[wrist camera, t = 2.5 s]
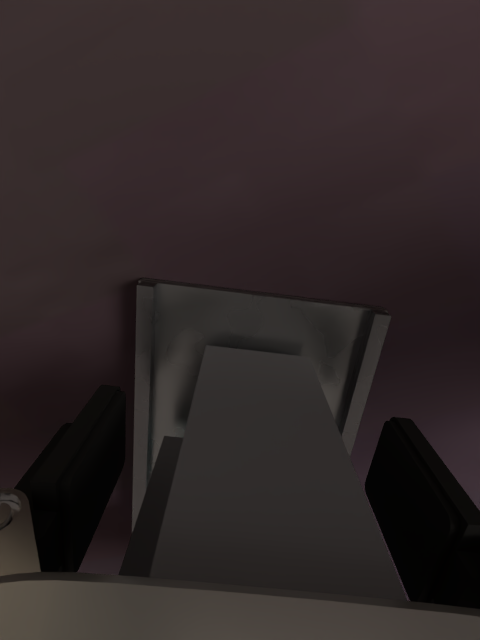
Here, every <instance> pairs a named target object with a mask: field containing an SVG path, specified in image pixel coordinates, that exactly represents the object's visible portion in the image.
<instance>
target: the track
mask: <svg viewBox="0 0 480 640" xmlns="http://www.w3.org/2000/svg"><path fill="white" fill-rule="evenodd" d="M387 312H388V311H387V310H386V309H384V308H383V307H377V306H369V305H361V304H353V303H345V302H336V301H328V300H320V299H312V298H304V297H296V296H288V295H279V294H271V293H263V292H255V291H247V290H239V289H230V288H222V287H214V286H206V285H198V284H190V283H181V282H173V281H165V280H157V279H149V278H141V279H140V280H139V284H138V285H137V299H136V349H135V399H134V449H133V499H132V533H133V530H134V527H135V523H136V520H137V517H138V514H139V511H140V508H141V505H142V502H143V499H144V496H145V493H146V490H147V487H148V484H149V481H150V478H151V475H152V471H153V468H154V465H155V462H156V459H157V456H158V453H159V450H160V447H161V444H162V441H163V438H164V436H172V437H181V438H183V437H184V433H185V429H186V425H187V421H188V417H189V412H190V408H191V404H192V400H193V396H194V392H195V388H196V384H197V380H198V376H199V372H200V368H201V364H202V360H203V356H204V352H205V347H206V345H209V346H218V347H226V348H235V349H244V350H252V351H261V352H269V353H278V354H286V355H295V356H303V357H310V360H311V362H312V364H313V367H314V369H315V372H316V374H317V377H318V379H319V382H320V384H321V387H322V389H323V392H324V394H325V397H326V399H327V402H328V404H329V407H330V409H331V412H332V414H333V417H334V419H335V422H336V424H337V427H338V429H339V432H340V434H341V437H342V439H343V442H344V444H345V447H346V449H347V452H348V454H349V457H350V455H351V452H352V448H353V445H354V442H355V438H356V435H357V431H358V428H359V425H360V421H361V418H362V414H363V411H364V408H365V404H366V401H367V397H368V394H369V391H370V387H371V384H372V380H373V377H374V374H375V370H376V367H377V363H378V360H379V357H380V353H381V350H382V346H383V343H384V340H385V336H386V333H387V330H388V326H389V323H390V319H391V315H389V314H388V313H387Z"/></svg>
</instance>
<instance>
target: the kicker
mask: <svg viewBox="0 0 480 640" xmlns="http://www.w3.org/2000/svg"><path fill="white" fill-rule="evenodd" d="M119 575H122V576H136V577H148V578H160V579H172V580H183V581H195V582H207V583H219V584H230V585H241V586H253V587H264V588H275V589H286V590H297V591H308V592H318V593H329V594H340V595H350V596H361V597H371V598H381V599H391V600H402V601H407V599H406V597H405V594H404V592H403V589H402V587H401V584H400V582H399V579H398V577H397V574H396V572H395V569H394V567H393V564H392V562H391V559H390V557H389V554H388V552H387V549H386V547H385V544H384V542H383V539H382V537H381V534H380V532H379V529H378V527H377V524H376V522H375V519H374V517H373V514H372V512H371V509H370V507H369V504H368V502H367V499H366V497H365V494H364V492H363V489H362V487H361V484H360V482H359V479H358V477H357V474H356V472H355V469H354V467H353V464H352V462H351V459H350V457H349V454H348V452H347V449H346V447H345V444H344V442H343V439H342V437H341V434H340V432H339V429H338V427H337V424H336V422H335V419H334V417H333V414H332V412H331V409H330V407H329V404H328V402H327V399H326V397H325V394H324V392H323V389H322V387H321V384H320V382H319V379H318V377H317V374H316V372H315V369H314V367H313V364H312V362H311V360H310V357H303V356H295V355H286V354H278V353H269V352H261V351H252V350H244V349H235V348H226V347H218V346H209V345H206V347H205V352H204V356H203V360H202V364H201V368H200V372H199V376H198V380H197V384H196V388H195V392H194V396H193V400H192V404H191V408H190V412H189V417H188V421H187V425H186V429H185V433H184V437H183V438H181V437H172V436H164V438H163V441H162V444H161V447H160V450H159V453H158V456H157V459H156V462H155V465H154V468H153V471H152V475H151V478H150V481H149V484H148V487H147V490H146V493H145V496H144V499H143V502H142V505H141V508H140V511H139V514H138V517H137V520H136V523H135V527H134V530H133V533H132V536H131V539H130V542H129V545H128V548H127V551H126V554H125V557H124V560H123V563H122V566H121V569H120V572H119Z"/></svg>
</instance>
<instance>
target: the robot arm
mask: <svg viewBox="0 0 480 640" xmlns="http://www.w3.org/2000/svg"><path fill="white" fill-rule="evenodd" d="M125 408H126V394H125V392H121V391H120V387H117V386H108V385H101V386H100V387H99V388H98V389H97V391H96V392H95V394H94V395H93V396H92V398H91V399H90V400H89V402H88V403H87V404H86V406H85V407H84V408H83V410H82V411H81V413H80V414H79V415H78V417H77V418H76V419H75V421H74V422H73V423H66V424H64V425H63V426H62V427H61V428H60V429H59V431H58V432H57V433H56V435H55V436H54V437H53V438H52V440H51V441H50V442H49V444H48V445H47V446H46V448H45V449H44V450H43V451H42V453H41V454H40V455H39V457H38V458H37V459H36V460H35V462H34V463H33V464H32V466H31V467H30V468H29V470H28V471H27V472H26V473H25V475H24V476H23V477H22V479H21V480H20V481H19V482H18V484H17V485H16V486H15V488H14V489H13V488H1V489H0V640H480V511H479V510H478V508H477V507H476V506H475V504H474V503H473V502H472V500H471V499H470V498H469V496H468V495H467V494H466V492H465V491H464V489H463V488H462V487H461V485H460V484H459V483H458V481H457V480H456V479H455V477H454V476H453V475H452V473H451V472H450V471H449V469H448V468H447V467H446V465H445V464H444V463H443V461H442V460H441V458H440V457H439V456H438V454H437V453H436V452H435V450H434V449H433V448H432V446H431V445H430V444H429V442H428V441H427V440H426V438H425V437H424V436H423V434H422V433H421V432H420V430H419V429H418V428H417V426H416V425H415V423H414V422H413V421H412V420H411V419H407V418H397V417H392V418H391V419H390V420H389V421H386V422H385V423H384V426H383V429H382V432H381V435H380V438H379V441H378V444H377V447H376V451H375V454H374V457H373V460H372V463H371V466H370V469H369V472H368V475H367V478H366V482H365V491H366V494H367V497H368V499H369V502H370V504H371V507H372V509H373V512H374V514H375V516H376V519H377V521H378V524H379V526H380V529H381V531H382V534H383V536H384V538H385V541H386V543H387V546H388V548H389V551H390V553H391V556H392V558H393V560H394V563H395V565H396V568H397V570H398V573H399V575H400V578H401V580H402V582H403V585H404V587H405V590H406V592H407V595H408V597H409V599H410V600H411V601H402V600H391V599H381V598H371V597H361V596H350V595H340V594H329V593H318V592H308V591H297V590H286V589H275V588H264V587H253V586H241V585H230V584H219V583H207V582H195V581H183V580H172V579H160V578H148V577H136V576H122V575H106V574H91V573H76V572H77V571H78V569H79V567H80V565H81V563H82V560H83V558H84V556H85V553H86V551H87V549H88V547H89V544H90V542H91V540H92V537H93V535H94V533H95V531H96V528H97V526H98V524H99V521H100V519H101V517H102V514H103V512H104V510H105V508H106V505H107V503H108V501H109V498H110V496H111V494H112V491H113V489H114V487H115V485H116V482H117V480H118V478H119V475H120V473H121V471H122V468H123V465H124V461H125Z"/></svg>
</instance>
